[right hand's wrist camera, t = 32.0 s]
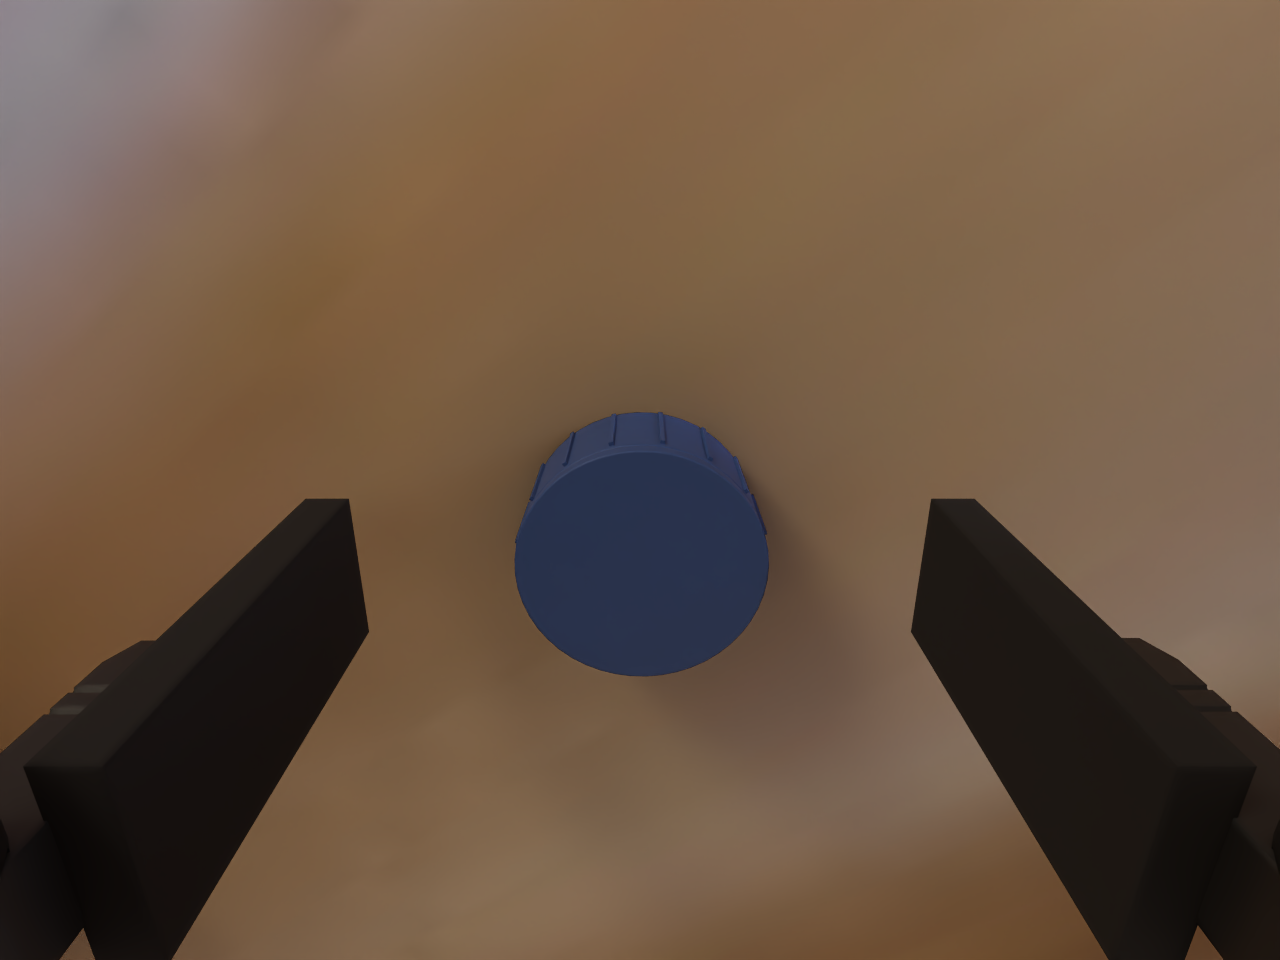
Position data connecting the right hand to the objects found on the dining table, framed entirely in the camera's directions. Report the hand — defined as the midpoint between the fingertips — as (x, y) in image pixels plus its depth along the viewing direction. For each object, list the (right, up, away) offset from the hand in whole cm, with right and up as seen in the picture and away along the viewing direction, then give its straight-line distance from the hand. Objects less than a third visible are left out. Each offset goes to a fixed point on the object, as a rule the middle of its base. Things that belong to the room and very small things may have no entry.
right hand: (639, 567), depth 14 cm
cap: (0, 0, 0) cm, 0 cm away
